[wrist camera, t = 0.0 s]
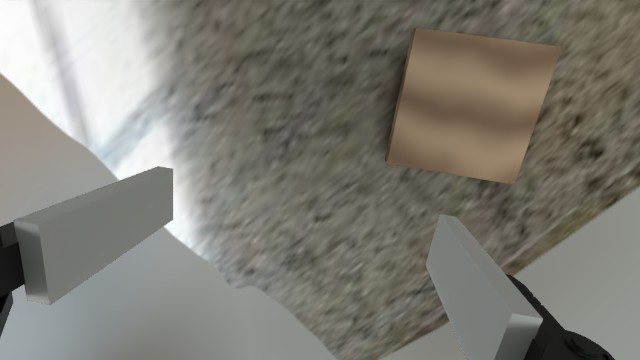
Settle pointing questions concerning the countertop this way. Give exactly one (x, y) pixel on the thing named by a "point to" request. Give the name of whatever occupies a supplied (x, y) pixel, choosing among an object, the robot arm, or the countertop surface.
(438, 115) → the stool
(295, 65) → the countertop surface
